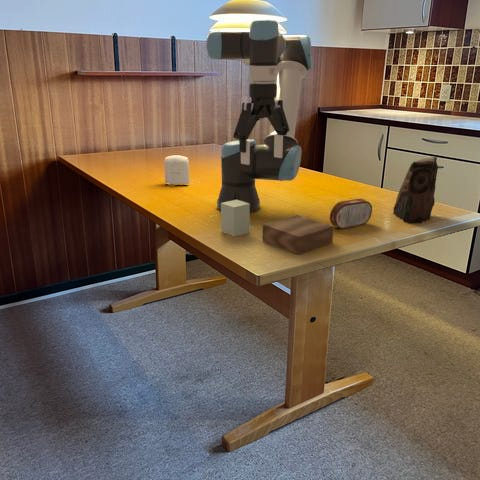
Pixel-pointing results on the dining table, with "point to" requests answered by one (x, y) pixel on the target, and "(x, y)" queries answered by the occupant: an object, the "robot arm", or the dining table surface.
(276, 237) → the walnut board
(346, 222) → the tin
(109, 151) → the dining table surface
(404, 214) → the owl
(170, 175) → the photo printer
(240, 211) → the sage block
